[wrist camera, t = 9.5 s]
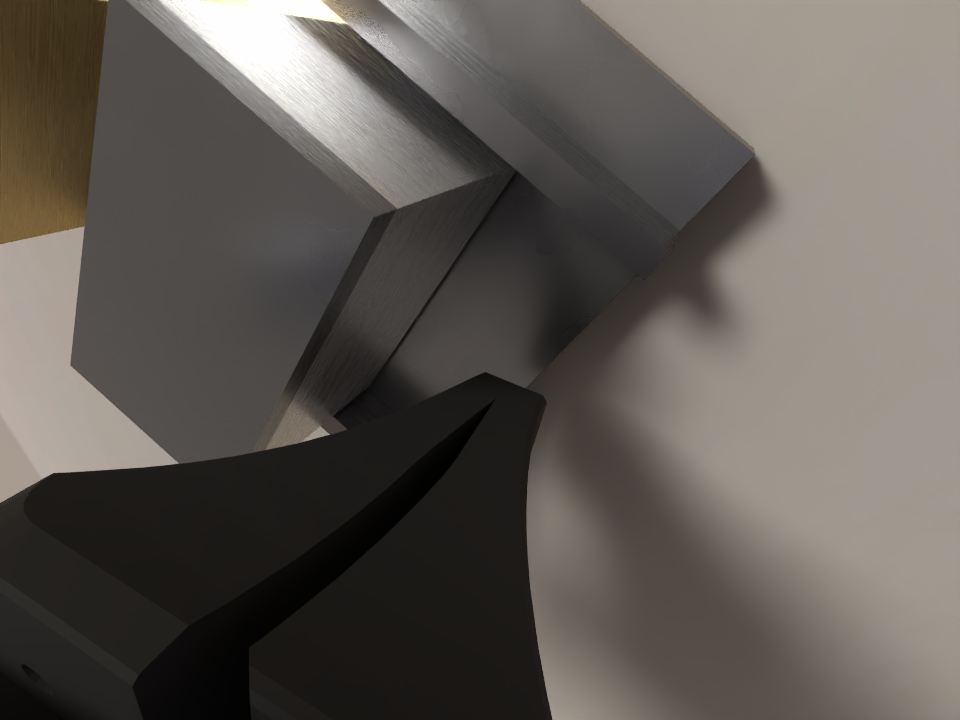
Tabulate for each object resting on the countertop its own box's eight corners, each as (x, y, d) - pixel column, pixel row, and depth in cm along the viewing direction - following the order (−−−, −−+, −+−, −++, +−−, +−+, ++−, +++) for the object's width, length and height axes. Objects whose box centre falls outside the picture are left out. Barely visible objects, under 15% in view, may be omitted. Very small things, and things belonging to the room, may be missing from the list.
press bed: (753, 148, 9) (770, 219, 4) (431, 479, 16) (299, 649, 11) (-74, -556, 10) (-910, -1219, 5) (-37, 62, 17) (-357, 53, 12)
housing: (266, 22, 11) (-131, -32, 6) (216, 197, 13) (-86, 262, 8) (105, -116, 11) (-416, -284, 6) (88, 85, 13) (-284, 84, 9)
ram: (520, 164, 10) (373, 217, 6) (369, 386, 14) (224, 504, 10) (359, 26, 10) (108, -14, 6) (257, 286, 14) (70, 365, 10)
